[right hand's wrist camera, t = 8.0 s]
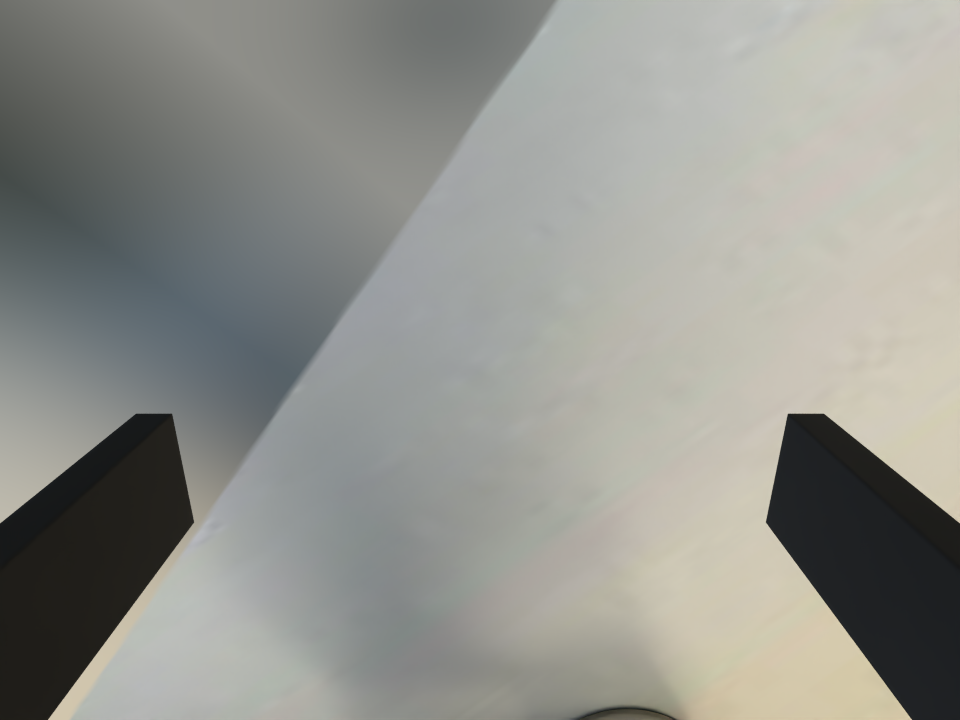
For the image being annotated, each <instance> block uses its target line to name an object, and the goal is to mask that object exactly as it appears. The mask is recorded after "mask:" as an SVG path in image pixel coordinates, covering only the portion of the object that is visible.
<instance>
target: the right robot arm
mask: <svg viewBox="0 0 960 720" xmlns="http://www.w3.org/2000/svg"><path fill="white" fill-rule="evenodd" d="M193 523H194V520H193V515H192V510H191V505H190V500H189V495H188V490H187V485H186V480H185V475H184V470H183V465H182V460H181V455H180V451H179V446H178V441H177V436H176V431H175V426H174V421H173V416H172V414H135V415H134V416H133V417H132V418H130V419H129V420H128V421H127V422H125V423H124V424H123V425H122V426H120V427H119V428H118V429H117V430H115V431H114V432H113V433H112V434H110V435H109V436H108V437H107V438H106V439H104V440H103V441H102V442H101V443H99V444H98V445H97V446H96V447H94V448H93V449H92V450H91V451H89V452H88V453H87V454H86V455H84V456H83V457H82V458H81V459H79V460H78V461H77V462H76V463H75V464H73V465H72V466H71V467H70V468H68V469H67V470H66V471H65V472H63V473H62V474H61V475H60V476H58V477H57V478H56V479H55V480H53V481H52V482H51V483H50V484H49V485H47V486H46V487H45V488H44V489H42V490H41V491H40V492H39V493H37V494H36V495H35V496H34V497H32V498H31V499H30V500H29V501H27V502H26V503H25V504H24V505H22V506H21V507H20V508H19V509H18V510H16V511H15V512H14V513H13V514H11V515H10V516H9V517H8V518H6V519H5V520H4V521H3V522H1V523H0V720H48V719H49V718H50V716H51V715H52V713H53V712H54V711H55V709H56V708H57V707H58V705H59V704H60V703H61V701H62V700H63V699H64V697H65V696H66V695H67V693H68V692H69V690H70V689H71V688H72V686H73V685H74V684H75V682H76V681H77V680H78V678H79V677H80V676H81V674H82V673H83V672H84V670H85V669H86V668H87V666H88V665H89V663H90V662H91V661H92V659H93V658H94V657H95V655H96V654H97V653H98V651H99V650H100V649H101V647H102V646H103V645H104V643H105V642H106V641H107V639H108V638H109V637H110V635H111V634H112V632H113V631H114V630H115V628H116V627H117V626H118V624H119V623H120V622H121V620H122V619H123V618H124V616H125V615H126V614H127V612H128V611H129V610H130V608H131V607H132V605H133V604H134V603H135V601H136V600H137V599H138V597H139V596H140V595H141V593H142V592H143V591H144V589H145V588H146V586H147V585H148V584H149V582H150V581H151V580H152V578H153V577H154V576H155V574H156V573H157V572H158V570H159V569H160V568H161V566H162V565H163V564H164V562H165V561H166V559H167V558H168V557H169V555H170V554H171V553H172V551H173V550H174V549H175V547H176V546H177V545H178V543H179V542H180V541H181V539H182V538H183V537H184V535H185V534H186V532H187V531H188V530H189V528H190V527H191V526H192V524H193ZM766 523H767V524H768V526H769V527H770V528H771V530H772V531H773V533H774V534H775V535H776V537H777V538H778V539H779V541H780V542H781V543H782V545H783V546H784V547H785V549H786V550H787V551H788V553H789V554H790V555H791V557H792V558H793V560H794V561H795V562H796V564H797V565H798V566H799V568H800V569H801V570H802V572H803V573H804V574H805V576H806V577H807V578H808V580H809V581H810V583H811V584H812V585H813V587H814V588H815V589H816V591H817V592H818V593H819V595H820V596H821V597H822V599H823V600H824V601H825V603H826V604H827V605H828V607H829V608H830V610H831V611H832V612H833V614H834V615H835V616H836V618H837V619H838V620H839V622H840V623H841V624H842V626H843V627H844V628H845V630H846V631H847V632H848V634H849V635H850V637H851V638H852V639H853V641H854V642H855V643H856V645H857V646H858V647H859V649H860V650H861V651H862V653H863V654H864V655H865V657H866V658H867V659H868V661H869V662H870V664H871V665H872V666H873V668H874V669H875V670H876V672H877V673H878V674H879V676H880V677H881V678H882V680H883V681H884V682H885V684H886V685H887V686H888V688H889V689H890V691H891V692H892V693H893V695H894V696H895V697H896V699H897V700H898V701H899V703H900V704H901V705H902V707H903V708H904V709H905V711H906V712H907V713H908V715H909V716H910V718H911V719H912V720H960V523H959V522H957V521H956V520H955V519H954V518H952V517H951V516H950V515H949V514H947V513H946V512H945V511H944V510H942V509H941V508H940V507H939V506H938V505H936V504H935V503H934V502H933V501H931V500H930V499H929V498H928V497H926V496H925V495H924V494H923V493H921V492H920V491H919V490H918V489H916V488H915V487H914V486H913V485H911V484H910V483H909V482H908V481H907V480H905V479H904V478H903V477H902V476H900V475H899V474H898V473H897V472H895V471H894V470H893V469H892V468H890V467H889V466H888V465H887V464H885V463H884V462H883V461H882V460H881V459H879V458H878V457H877V456H876V455H874V454H873V453H872V452H871V451H869V450H868V449H867V448H866V447H864V446H863V445H862V444H861V443H859V442H858V441H857V440H856V439H854V438H853V437H852V436H851V435H850V434H848V433H847V432H846V431H845V430H843V429H842V428H841V427H840V426H838V425H837V424H836V423H835V422H833V421H832V420H831V419H830V418H828V417H827V416H826V415H825V414H788V416H787V421H786V426H785V431H784V436H783V441H782V446H781V451H780V455H779V460H778V465H777V470H776V475H775V480H774V485H773V490H772V495H771V500H770V505H769V510H768V515H767V520H766ZM580 720H673V719H671V718H669V717H667V716H664V715H662V714H659V713H655V712H651V711H646V710H637V709H618V710H610V711H604V712H600V713H596V714H593V715H590V716H587V717H584V718H582V719H580Z"/></svg>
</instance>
